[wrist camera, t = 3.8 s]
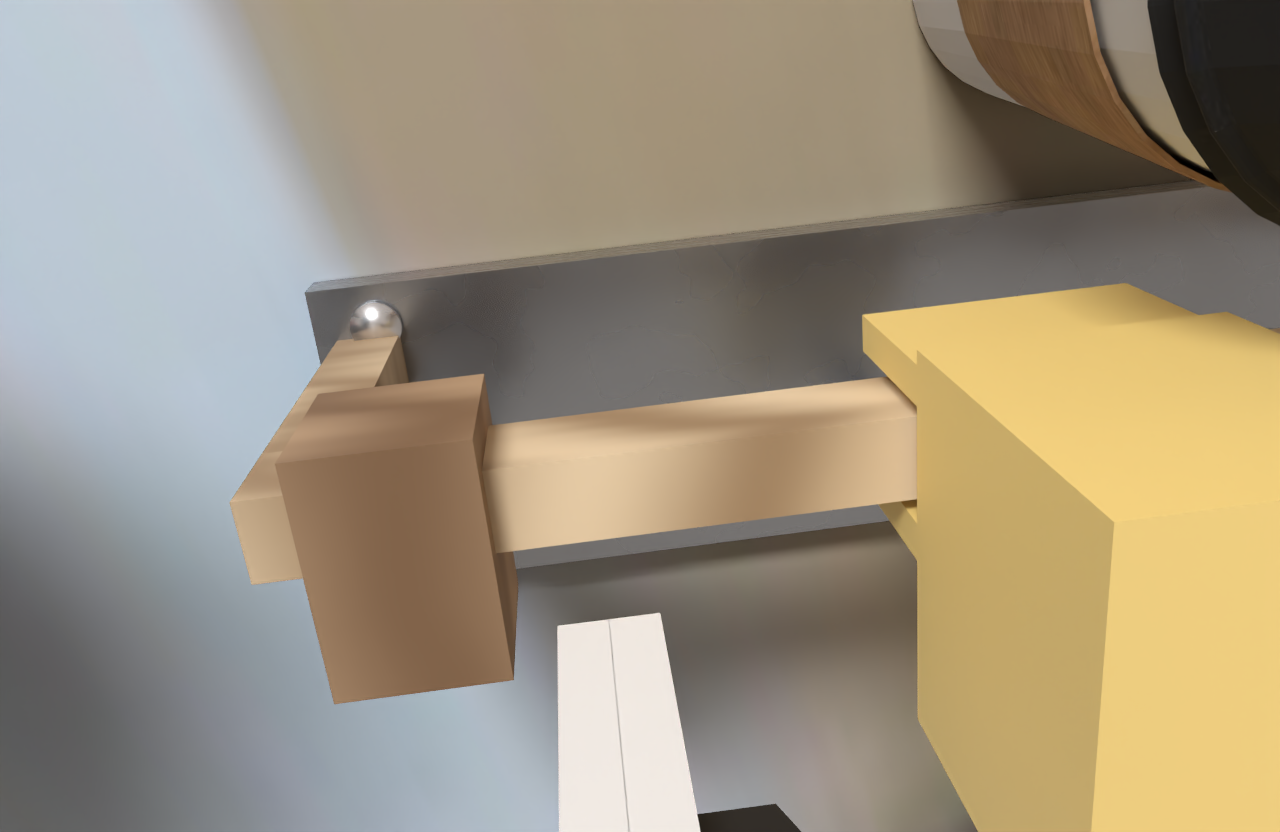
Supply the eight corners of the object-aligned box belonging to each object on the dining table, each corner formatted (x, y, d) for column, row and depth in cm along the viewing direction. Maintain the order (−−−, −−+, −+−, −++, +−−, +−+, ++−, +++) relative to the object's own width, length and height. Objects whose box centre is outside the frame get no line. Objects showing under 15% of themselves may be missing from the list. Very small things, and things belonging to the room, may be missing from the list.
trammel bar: (372, 505, 26) (284, 748, 17) (330, 310, 24) (207, 472, 16) (1460, 368, 28) (1893, 530, 19) (1498, 172, 26) (1999, 250, 17)
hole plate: (376, 569, 28) (369, 591, 27) (313, 282, 25) (302, 294, 24) (1433, 433, 29) (1467, 449, 28) (1488, 145, 26) (1530, 151, 25)
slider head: (803, 506, 27) (1076, 1016, 13) (791, 240, 24) (1114, 522, 10) (992, 482, 27) (1456, 958, 13) (999, 215, 24) (1582, 461, 11)
